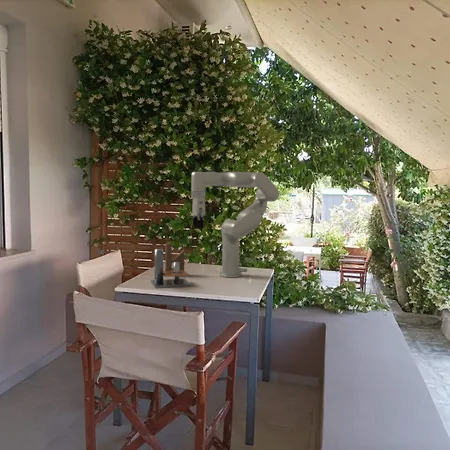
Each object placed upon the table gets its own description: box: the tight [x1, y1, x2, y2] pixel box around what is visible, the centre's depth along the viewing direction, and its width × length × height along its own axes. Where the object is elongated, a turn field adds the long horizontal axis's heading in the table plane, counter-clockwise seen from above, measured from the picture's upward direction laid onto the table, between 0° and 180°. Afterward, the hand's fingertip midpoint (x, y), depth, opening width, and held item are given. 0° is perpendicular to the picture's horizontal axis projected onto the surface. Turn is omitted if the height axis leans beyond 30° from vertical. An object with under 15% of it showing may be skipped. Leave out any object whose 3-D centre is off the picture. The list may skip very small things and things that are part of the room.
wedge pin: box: [173, 262, 181, 283], centre depth 226 cm, size 3×3×10 cm
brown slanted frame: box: [164, 242, 185, 271], centre depth 249 cm, size 4×11×18 cm, turn 99°
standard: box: [150, 248, 192, 289], centre depth 225 cm, size 18×14×18 cm
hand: (198, 226), depth 238 cm, fingers open, 9 cm apart
